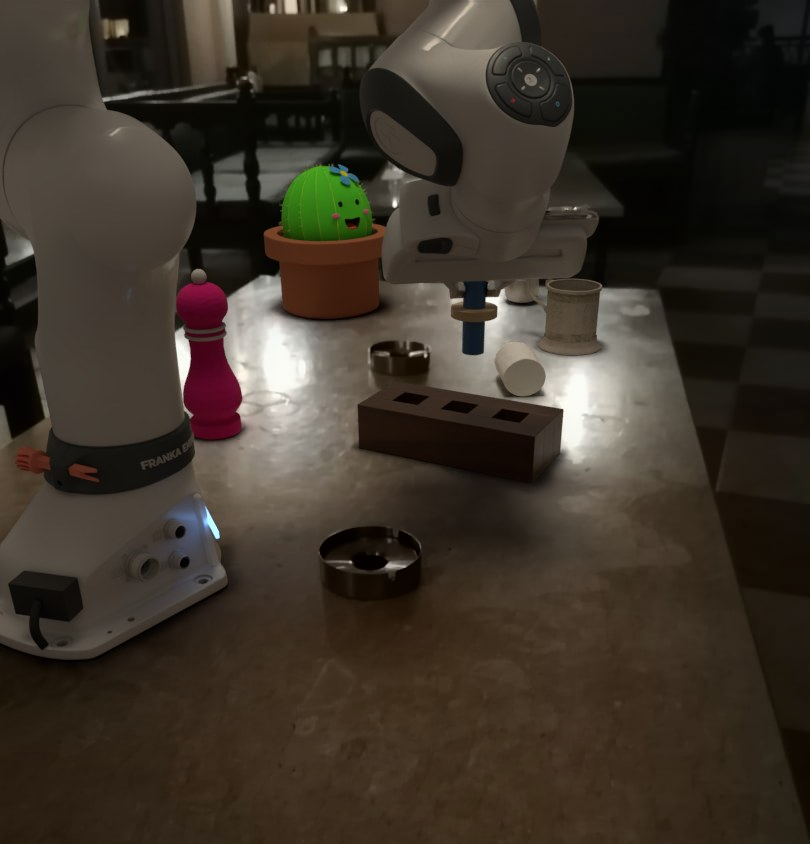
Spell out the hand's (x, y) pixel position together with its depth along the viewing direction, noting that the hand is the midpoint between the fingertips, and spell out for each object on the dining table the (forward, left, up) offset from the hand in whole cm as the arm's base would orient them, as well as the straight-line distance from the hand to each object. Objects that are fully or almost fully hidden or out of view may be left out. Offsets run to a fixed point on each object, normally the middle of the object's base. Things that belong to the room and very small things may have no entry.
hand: (473, 292), depth 97 cm
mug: (+49, +6, -20) cm, 53 cm away
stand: (+2, +2, -19) cm, 19 cm away
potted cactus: (+52, +51, -19) cm, 75 cm away
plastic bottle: (+71, +21, -20) cm, 76 cm away
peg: (-1, 0, -6) cm, 6 cm away
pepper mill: (-6, +32, -20) cm, 38 cm away
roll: (+28, +5, -20) cm, 34 cm away
